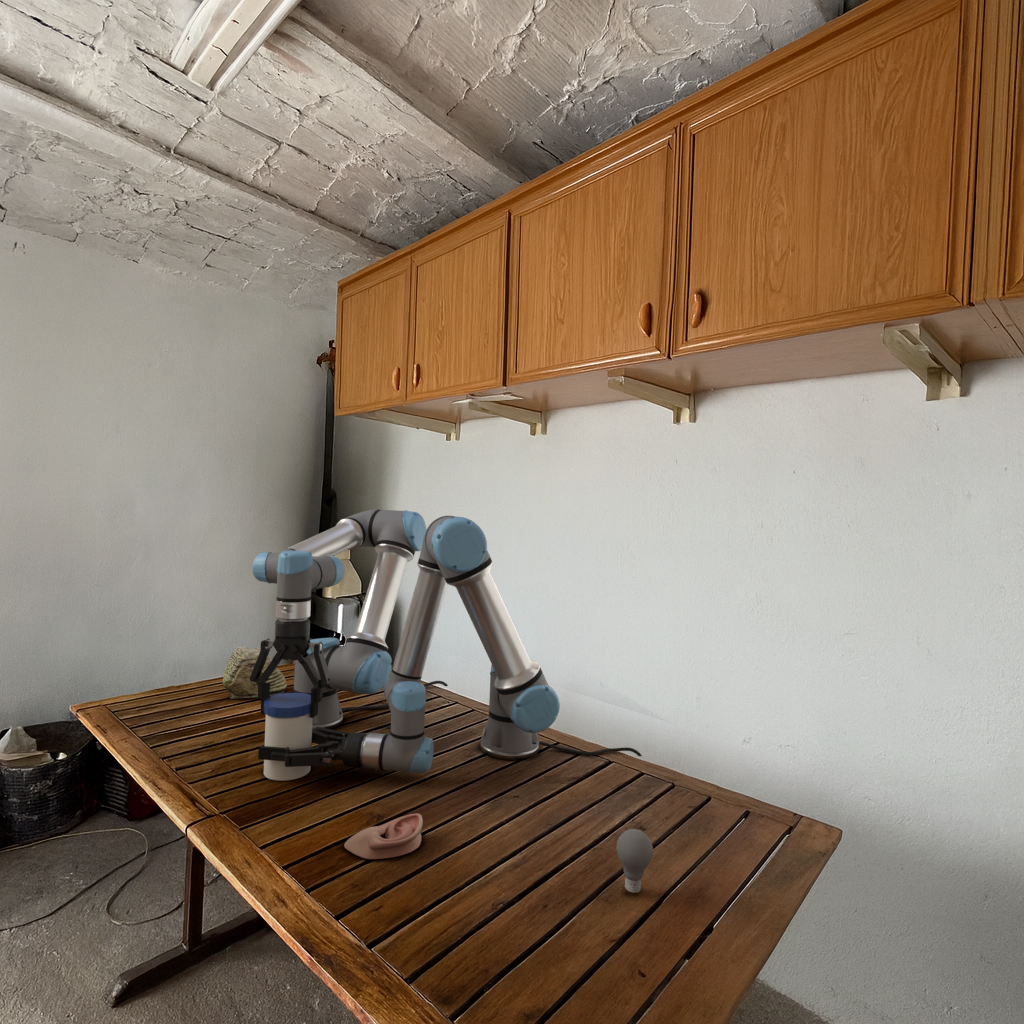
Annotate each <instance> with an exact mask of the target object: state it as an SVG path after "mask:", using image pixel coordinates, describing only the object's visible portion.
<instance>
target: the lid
mask: <svg viewBox="0 0 1024 1024" xmlns="http://www.w3.org/2000/svg"><path fill="white" fill-rule="evenodd" d="M310 707H311V695H309V694H305V693H294V692H283V693H280V694H276V695H272V696H270V697H269V698H267V699H266V700H265V701H264V713H265V714H264V715H265V716H266V715H269V716H272V717H280V718H289V717H298V716H302V715H306V714H309V713H310Z"/></svg>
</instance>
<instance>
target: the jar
mask: <svg viewBox="0 0 1024 1024" xmlns="http://www.w3.org/2000/svg"><path fill="white" fill-rule="evenodd" d="M264 725H265V726H264V727H265V728H264V746H269V747H281V748H287V747H289V750H295V749H302V748H310V747H312V744H313V743H312V718H310V713H309V714H306V715H302V716H298V717H289V718H280V717H272V716H269V715H266V714H265V723H264ZM311 767H312V766H299V767H285V761H274V760H263V775H264V777H265V778H267V779H269V780H272V781H280V782H281V781H284V782H285V781H293V780H296V779H300V778H303V777H305V776H307V775H308V774H309V773H310V772H311Z"/></svg>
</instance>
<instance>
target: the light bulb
mask: <svg viewBox="0 0 1024 1024" xmlns="http://www.w3.org/2000/svg"><path fill="white" fill-rule="evenodd" d="M615 849H616V854H617V857H618V859H619V861H620V863H621V865H622V867H623V873H624V874H623V875H624V876H625V878H624V888H625V890H627V891H628V892H630V893H634V894H635V893H639V892H640V891H641V889H642V887H641V886H642V879H643V877H644V875H645V871H646V868H647V867H648V866H649V864H650V863H651V861H652V859H653V855H654V847H653V843H652V841H651V838H649V836H648V835H647V834H646V833H645V832H643V831H642V830H641V829H636V828H629V829H627V830H625V831H623V832H622V833H621V834H620V835H619V837H618V839H617V841H616V847H615Z"/></svg>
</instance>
